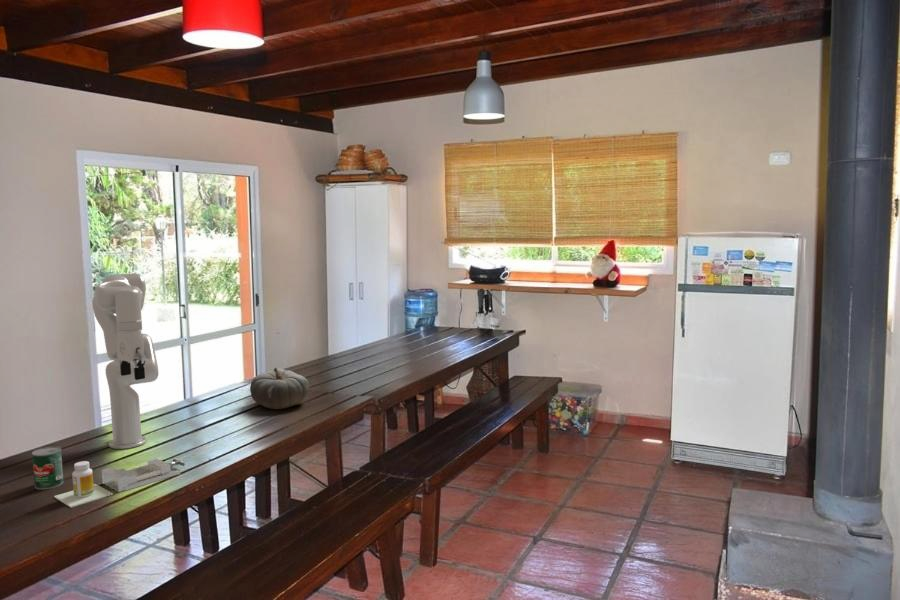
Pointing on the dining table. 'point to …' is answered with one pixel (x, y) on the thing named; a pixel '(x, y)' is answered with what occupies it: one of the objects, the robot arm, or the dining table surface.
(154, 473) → the vise
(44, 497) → the dining table surface
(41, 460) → the canned tomato
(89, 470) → the supplement bottle
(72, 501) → the pad
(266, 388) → the gourd
